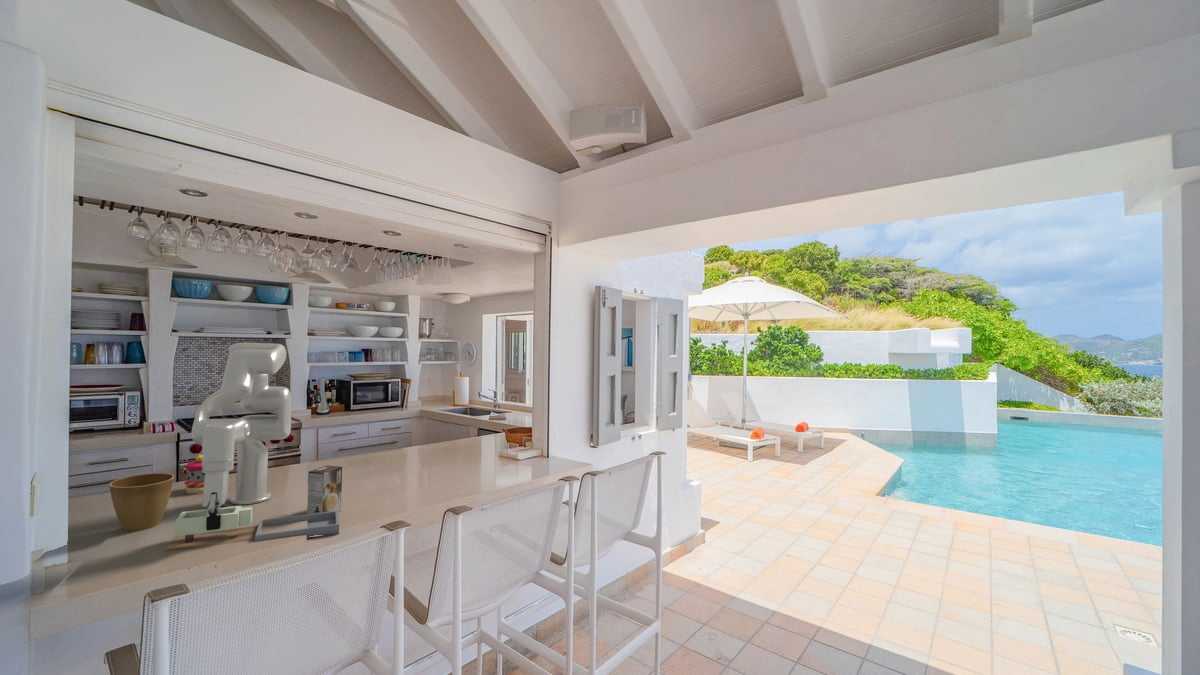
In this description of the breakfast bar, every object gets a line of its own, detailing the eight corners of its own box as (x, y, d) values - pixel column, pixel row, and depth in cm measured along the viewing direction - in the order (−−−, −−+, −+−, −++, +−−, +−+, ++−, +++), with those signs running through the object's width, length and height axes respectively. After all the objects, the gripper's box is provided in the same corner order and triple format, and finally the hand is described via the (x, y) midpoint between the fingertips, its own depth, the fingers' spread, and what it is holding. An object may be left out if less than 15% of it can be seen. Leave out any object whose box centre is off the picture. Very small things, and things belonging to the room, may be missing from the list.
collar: (181, 527, 147) (182, 512, 147) (252, 518, 156) (253, 504, 156) (175, 536, 141) (175, 520, 141) (249, 527, 149) (250, 512, 149)
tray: (260, 529, 159) (260, 519, 159) (337, 519, 170) (338, 510, 170) (254, 545, 147) (255, 535, 147) (338, 533, 158) (339, 524, 158)
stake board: (174, 541, 148) (175, 514, 148) (255, 530, 158) (256, 505, 158) (163, 557, 138) (164, 528, 138) (251, 545, 147) (252, 518, 147)
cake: (209, 494, 192) (211, 455, 192) (178, 495, 189) (179, 455, 189) (224, 486, 202) (225, 449, 202) (194, 487, 200) (195, 449, 200)
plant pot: (112, 527, 157) (114, 476, 157) (174, 519, 165) (176, 470, 166) (102, 544, 145) (104, 489, 145) (169, 533, 153) (171, 482, 154)
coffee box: (326, 509, 179) (327, 464, 179) (341, 511, 178) (343, 466, 178) (306, 518, 170) (307, 471, 170) (322, 520, 169) (324, 472, 169)
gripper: (208, 459, 154) (206, 516, 154) (195, 474, 139) (193, 537, 139) (237, 457, 158) (235, 513, 158) (228, 471, 142) (226, 533, 143)
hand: (215, 524), depth 148 cm, fingers closed on collar, 7 cm apart
